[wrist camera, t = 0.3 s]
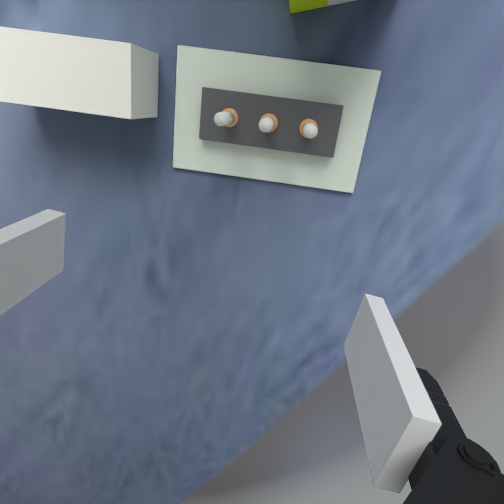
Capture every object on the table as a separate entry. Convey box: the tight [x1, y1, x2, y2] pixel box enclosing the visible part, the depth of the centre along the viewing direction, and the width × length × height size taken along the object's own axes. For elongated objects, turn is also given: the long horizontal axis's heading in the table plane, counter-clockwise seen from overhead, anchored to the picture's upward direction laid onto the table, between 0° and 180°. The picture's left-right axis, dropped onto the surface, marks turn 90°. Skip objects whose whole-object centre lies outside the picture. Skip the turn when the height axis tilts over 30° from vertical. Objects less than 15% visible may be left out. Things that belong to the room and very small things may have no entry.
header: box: [173, 45, 381, 193], centre depth 35 cm, size 12×20×7 cm, turn 82°
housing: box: [0, 27, 159, 119], centre depth 35 cm, size 14×6×7 cm, turn 83°
